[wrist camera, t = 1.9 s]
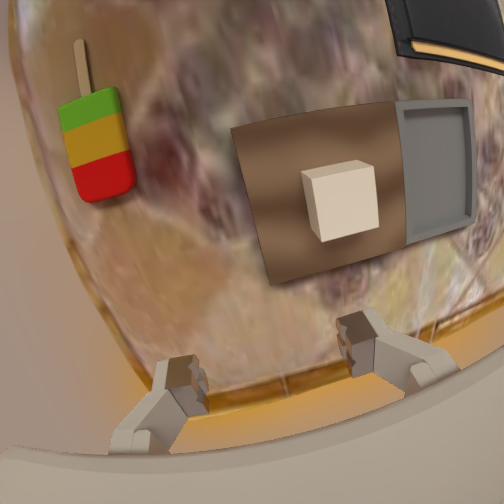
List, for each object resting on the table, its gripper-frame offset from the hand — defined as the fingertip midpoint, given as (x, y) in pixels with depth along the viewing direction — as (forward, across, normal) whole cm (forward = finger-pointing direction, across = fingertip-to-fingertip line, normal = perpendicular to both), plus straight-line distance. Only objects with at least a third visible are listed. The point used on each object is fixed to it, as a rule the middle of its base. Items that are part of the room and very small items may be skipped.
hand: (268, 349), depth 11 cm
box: (+17, -20, 0) cm, 27 cm away
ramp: (+17, -8, 0) cm, 19 cm away
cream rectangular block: (+15, -8, 0) cm, 17 cm away
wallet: (+18, -28, -18) cm, 38 cm away
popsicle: (+18, +10, -12) cm, 24 cm away
